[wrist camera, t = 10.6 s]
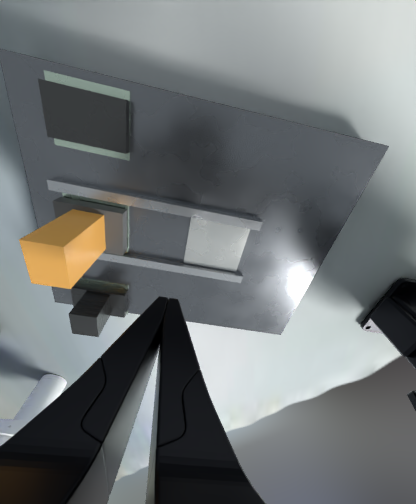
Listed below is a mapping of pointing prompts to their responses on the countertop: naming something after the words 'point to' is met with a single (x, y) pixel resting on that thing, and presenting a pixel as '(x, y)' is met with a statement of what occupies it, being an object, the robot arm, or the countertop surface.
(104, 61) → the countertop surface
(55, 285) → the block
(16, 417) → the white stepped cylinder
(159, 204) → the breaker panel
